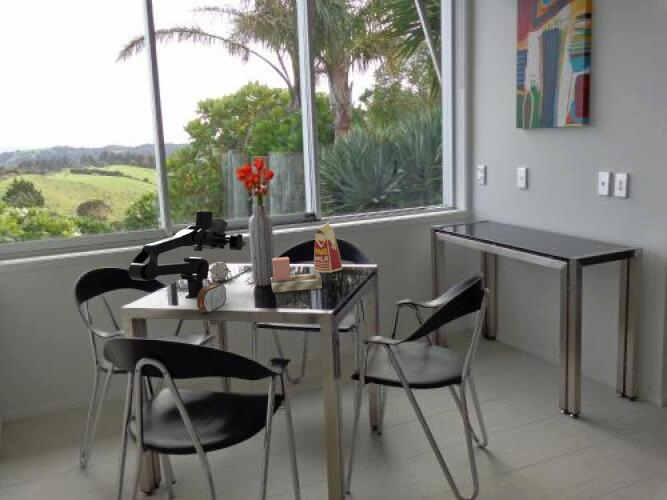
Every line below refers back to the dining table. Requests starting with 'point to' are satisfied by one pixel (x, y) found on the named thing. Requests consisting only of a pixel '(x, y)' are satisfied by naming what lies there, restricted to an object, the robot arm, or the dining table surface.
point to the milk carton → (326, 251)
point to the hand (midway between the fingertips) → (236, 243)
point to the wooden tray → (297, 283)
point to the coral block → (281, 268)
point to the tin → (211, 297)
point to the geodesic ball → (219, 270)
